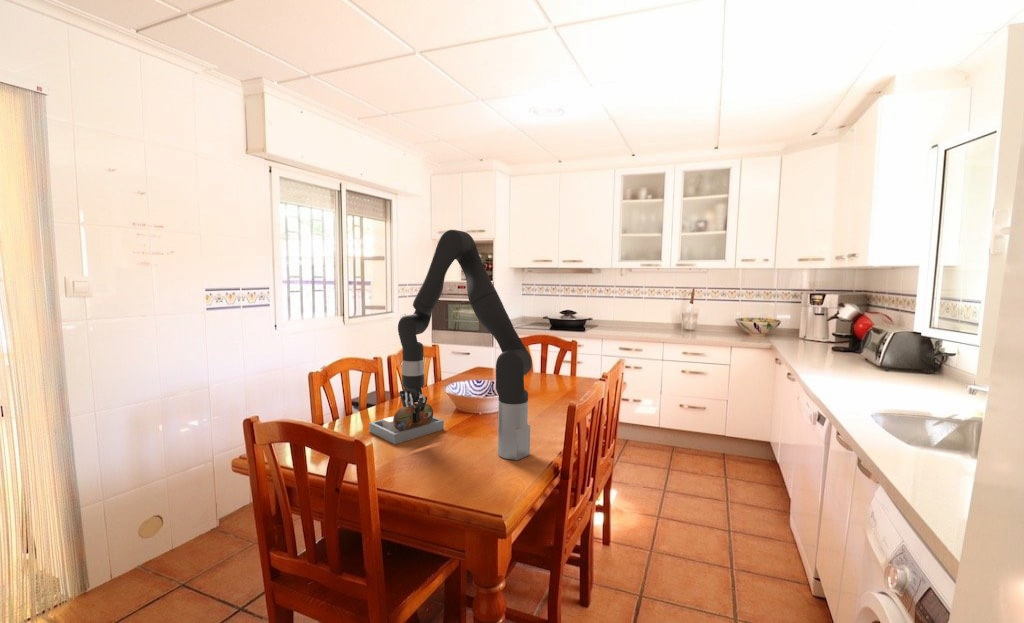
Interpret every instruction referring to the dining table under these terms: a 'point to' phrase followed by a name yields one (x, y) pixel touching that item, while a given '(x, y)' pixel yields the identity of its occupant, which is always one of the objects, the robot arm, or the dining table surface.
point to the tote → (407, 434)
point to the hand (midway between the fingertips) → (413, 421)
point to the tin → (411, 418)
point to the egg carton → (389, 424)
